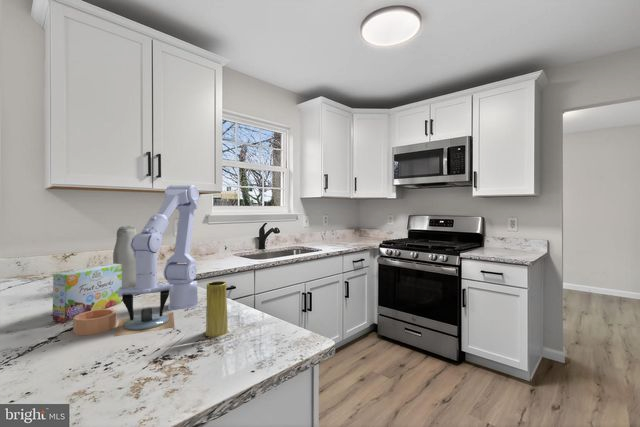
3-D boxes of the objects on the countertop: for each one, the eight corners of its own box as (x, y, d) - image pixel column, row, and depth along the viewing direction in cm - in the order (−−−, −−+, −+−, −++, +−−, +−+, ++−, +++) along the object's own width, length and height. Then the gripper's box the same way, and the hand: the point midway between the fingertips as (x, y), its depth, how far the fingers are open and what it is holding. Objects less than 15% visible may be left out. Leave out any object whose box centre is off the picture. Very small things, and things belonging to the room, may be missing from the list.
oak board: (173, 313, 105) (173, 312, 105) (174, 328, 91) (174, 327, 91) (120, 320, 98) (120, 319, 98) (113, 338, 85) (113, 336, 85)
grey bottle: (125, 285, 144) (125, 225, 144) (145, 286, 143) (145, 225, 143) (108, 291, 134) (107, 226, 134) (129, 292, 133) (129, 226, 133)
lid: (168, 314, 103) (168, 301, 103) (169, 326, 92) (168, 311, 92) (125, 320, 97) (125, 306, 97) (121, 333, 87) (121, 317, 87)
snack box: (66, 323, 96) (66, 274, 96) (51, 321, 97) (51, 273, 97) (122, 303, 117) (122, 263, 117) (110, 302, 118) (109, 262, 118)
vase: (206, 339, 83) (206, 286, 83) (203, 332, 89) (203, 282, 89) (230, 335, 86) (229, 284, 86) (225, 328, 92) (225, 280, 92)
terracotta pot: (118, 321, 97) (118, 307, 97) (114, 332, 88) (113, 316, 88) (79, 326, 93) (78, 311, 93) (69, 339, 84) (69, 322, 84)
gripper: (116, 277, 88) (116, 325, 88) (173, 272, 94) (173, 317, 94) (119, 273, 94) (119, 317, 94) (172, 269, 101) (172, 311, 101)
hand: (146, 317), depth 95 cm, fingers open, 7 cm apart
